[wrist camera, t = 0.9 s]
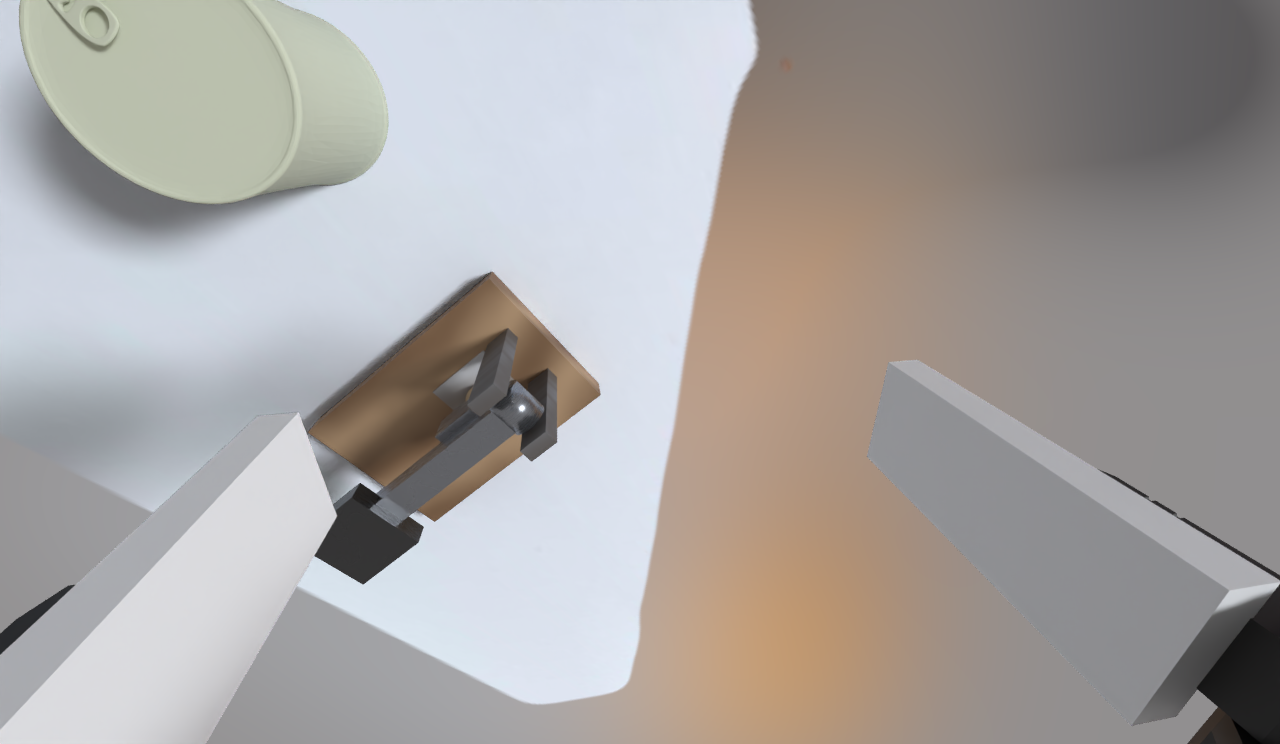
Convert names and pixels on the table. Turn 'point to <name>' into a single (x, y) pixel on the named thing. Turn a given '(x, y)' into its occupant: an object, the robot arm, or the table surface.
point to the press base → (458, 391)
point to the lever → (419, 486)
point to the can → (207, 93)
